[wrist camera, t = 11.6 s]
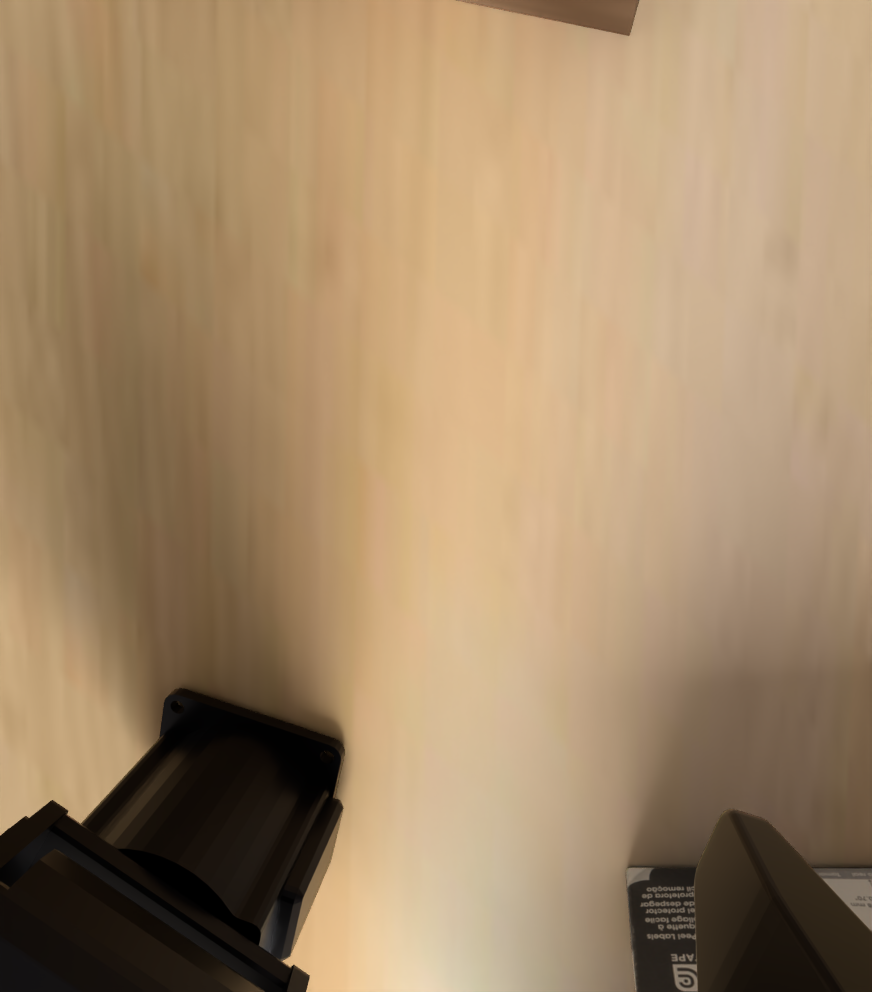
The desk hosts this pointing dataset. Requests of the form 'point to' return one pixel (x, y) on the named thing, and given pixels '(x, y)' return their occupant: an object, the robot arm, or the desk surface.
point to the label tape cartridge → (671, 921)
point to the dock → (574, 11)
